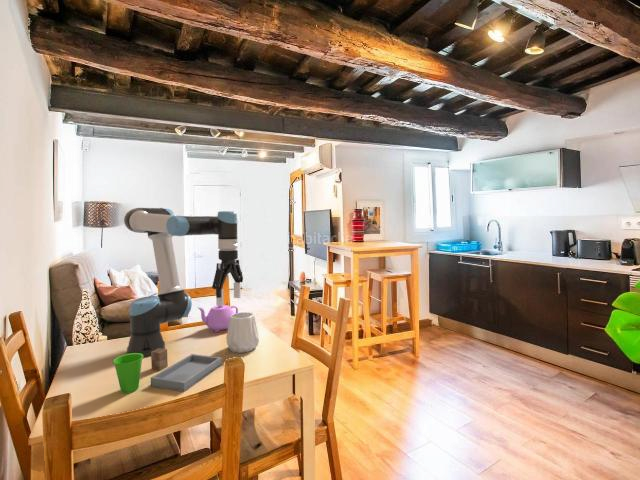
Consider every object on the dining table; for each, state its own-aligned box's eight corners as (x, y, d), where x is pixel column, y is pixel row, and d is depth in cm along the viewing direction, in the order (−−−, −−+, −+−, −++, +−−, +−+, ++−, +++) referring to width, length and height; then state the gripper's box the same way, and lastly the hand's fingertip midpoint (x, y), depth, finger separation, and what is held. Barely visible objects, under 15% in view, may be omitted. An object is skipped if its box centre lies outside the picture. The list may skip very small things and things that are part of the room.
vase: (229, 356, 143) (228, 321, 142) (224, 345, 156) (223, 313, 155) (262, 351, 149) (261, 317, 148) (254, 341, 162) (254, 309, 161)
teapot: (201, 337, 168) (200, 310, 167) (194, 329, 181) (193, 303, 180) (244, 329, 179) (243, 303, 179) (234, 322, 192) (234, 298, 192)
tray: (150, 386, 118) (150, 377, 118) (192, 361, 139) (191, 353, 139) (184, 391, 114) (184, 382, 114) (222, 365, 135) (221, 357, 135)
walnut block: (151, 369, 131) (151, 351, 131) (159, 365, 135) (158, 348, 135) (160, 370, 130) (159, 352, 130) (167, 366, 134) (167, 349, 134)
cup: (150, 383, 120) (149, 353, 119) (133, 397, 111) (132, 364, 110) (126, 383, 121) (124, 352, 120) (107, 396, 112) (106, 363, 111)
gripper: (219, 252, 124) (220, 309, 126) (250, 247, 149) (251, 295, 150) (201, 252, 126) (203, 308, 128) (234, 246, 150) (235, 294, 152)
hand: (229, 301), depth 139 cm, fingers open, 13 cm apart
